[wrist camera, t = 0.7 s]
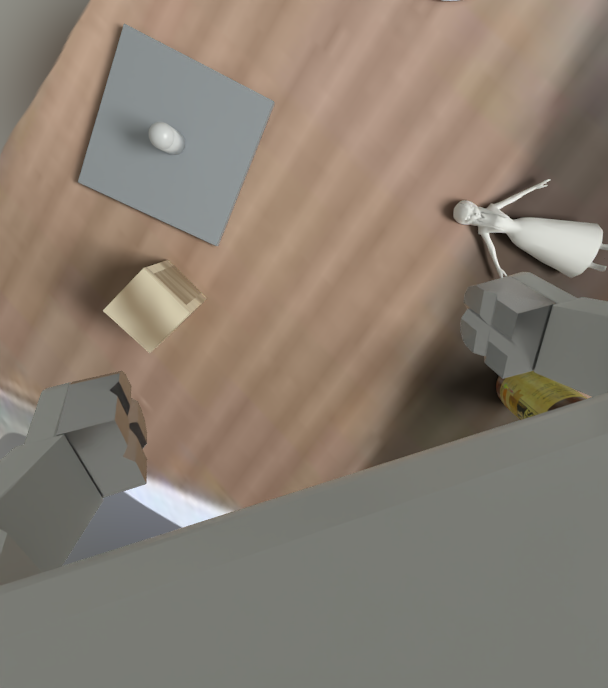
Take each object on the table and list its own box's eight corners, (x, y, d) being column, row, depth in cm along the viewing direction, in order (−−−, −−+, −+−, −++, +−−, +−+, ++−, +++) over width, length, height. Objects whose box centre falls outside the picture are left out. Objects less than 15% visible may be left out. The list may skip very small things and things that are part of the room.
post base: (128, 27, 42) (99, -3, 36) (274, 104, 44) (270, 86, 38) (82, 182, 46) (50, 177, 40) (218, 245, 48) (206, 249, 42)
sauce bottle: (483, 384, 54) (583, 476, 35) (521, 350, 53) (648, 427, 34) (515, 416, 55) (628, 522, 36) (553, 384, 54) (692, 475, 35)
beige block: (167, 259, 49) (143, 268, 41) (207, 298, 50) (190, 313, 43) (132, 296, 50) (102, 310, 42) (172, 332, 51) (149, 353, 44)
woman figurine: (592, 311, 47) (438, 260, 46) (570, 303, 51) (429, 257, 50) (647, 205, 43) (483, 150, 43) (619, 207, 48) (469, 156, 47)
